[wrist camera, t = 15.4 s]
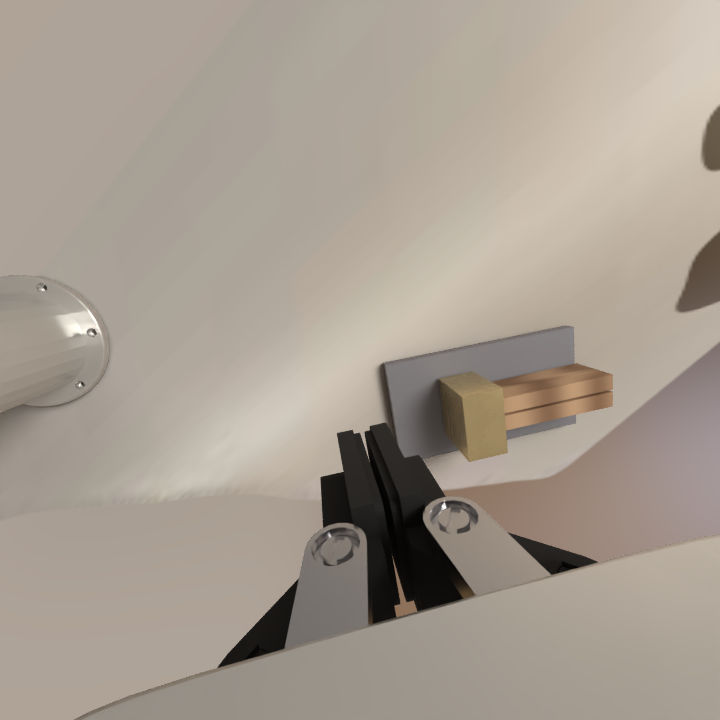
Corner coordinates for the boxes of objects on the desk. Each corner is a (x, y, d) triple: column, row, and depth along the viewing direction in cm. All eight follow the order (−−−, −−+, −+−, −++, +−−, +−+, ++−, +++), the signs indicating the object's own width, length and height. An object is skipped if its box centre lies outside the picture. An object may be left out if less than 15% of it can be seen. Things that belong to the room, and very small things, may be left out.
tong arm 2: (455, 418, 39) (475, 437, 34) (454, 405, 39) (474, 422, 34) (576, 391, 41) (612, 406, 36) (576, 378, 40) (612, 391, 35)
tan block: (445, 434, 40) (469, 461, 33) (438, 378, 38) (462, 397, 32) (478, 426, 40) (507, 452, 34) (472, 371, 38) (502, 388, 32)
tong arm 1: (454, 403, 39) (473, 420, 34) (452, 389, 38) (472, 405, 34) (576, 376, 40) (612, 389, 35) (576, 363, 40) (612, 374, 35)
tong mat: (399, 458, 41) (401, 463, 40) (383, 362, 38) (385, 365, 37) (568, 419, 43) (575, 423, 42) (566, 325, 40) (573, 326, 39)
